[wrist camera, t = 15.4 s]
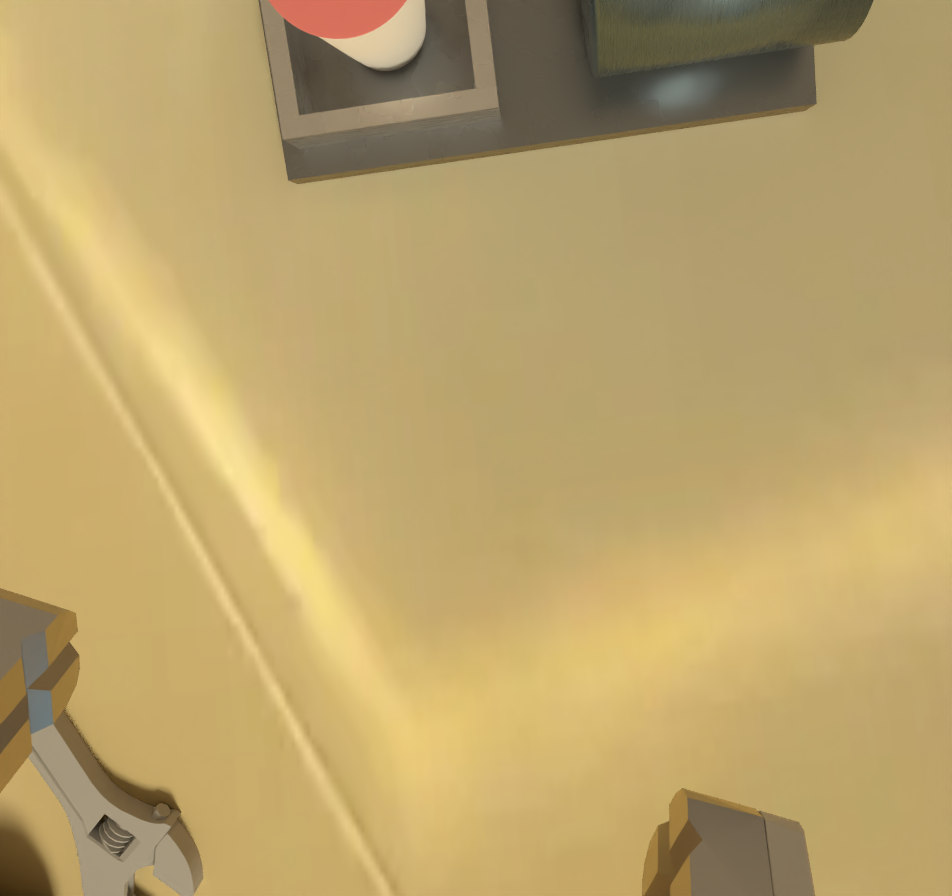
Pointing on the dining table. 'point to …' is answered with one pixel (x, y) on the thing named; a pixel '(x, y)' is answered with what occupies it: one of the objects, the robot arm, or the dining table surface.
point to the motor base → (544, 77)
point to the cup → (362, 27)
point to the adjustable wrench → (112, 820)
